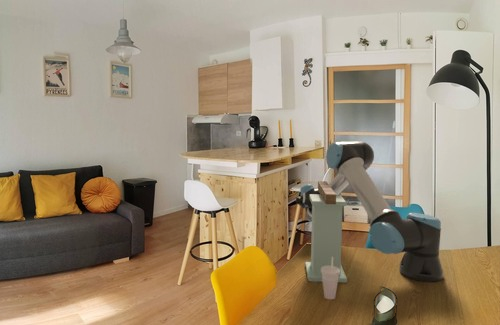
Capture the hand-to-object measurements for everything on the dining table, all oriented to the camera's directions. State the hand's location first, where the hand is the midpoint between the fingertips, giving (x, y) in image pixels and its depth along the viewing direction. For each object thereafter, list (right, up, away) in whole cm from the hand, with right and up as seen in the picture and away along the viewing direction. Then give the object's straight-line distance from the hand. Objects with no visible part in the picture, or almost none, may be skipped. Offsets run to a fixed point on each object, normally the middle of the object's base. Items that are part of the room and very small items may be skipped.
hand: (319, 195), depth 152 cm
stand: (-2, -28, -19) cm, 34 cm away
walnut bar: (-2, +2, -20) cm, 20 cm away
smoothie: (-4, -31, -36) cm, 48 cm away
